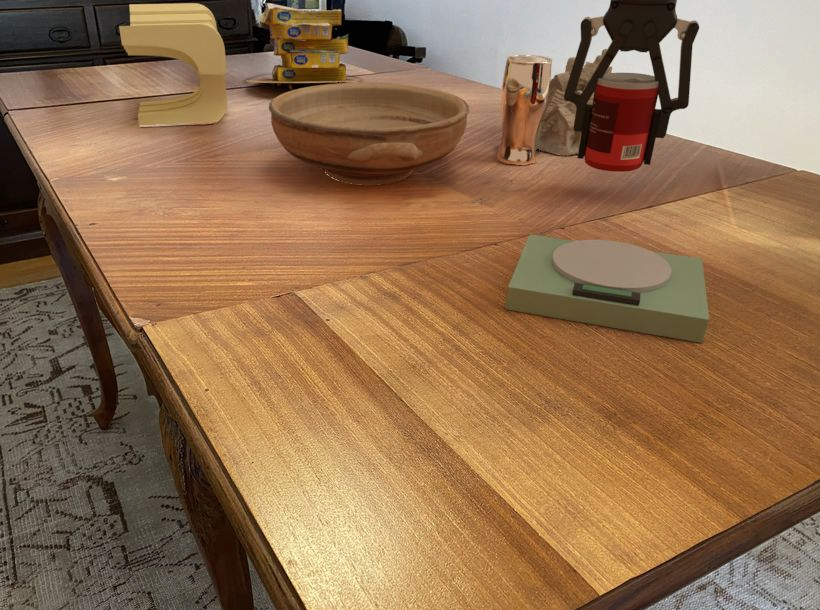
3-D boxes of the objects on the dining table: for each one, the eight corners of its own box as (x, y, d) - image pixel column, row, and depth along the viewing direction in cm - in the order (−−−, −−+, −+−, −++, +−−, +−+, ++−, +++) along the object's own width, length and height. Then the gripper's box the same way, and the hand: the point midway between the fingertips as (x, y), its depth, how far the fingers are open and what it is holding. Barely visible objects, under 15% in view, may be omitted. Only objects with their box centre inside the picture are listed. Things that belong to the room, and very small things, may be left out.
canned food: (649, 161, 96) (668, 75, 90) (633, 176, 90) (651, 86, 85) (594, 152, 100) (608, 70, 94) (574, 166, 94) (588, 79, 88)
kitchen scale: (695, 279, 75) (703, 252, 74) (702, 343, 64) (711, 312, 63) (526, 254, 81) (530, 228, 79) (504, 309, 69) (508, 280, 68)
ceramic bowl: (266, 140, 120) (262, 78, 114) (429, 134, 123) (433, 74, 118) (280, 221, 89) (276, 141, 83) (498, 210, 92) (508, 133, 87)
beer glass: (484, 159, 112) (495, 58, 104) (512, 150, 115) (524, 52, 108) (520, 169, 107) (534, 64, 99) (547, 160, 111) (563, 59, 103)
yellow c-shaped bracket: (232, 136, 122) (222, 23, 112) (137, 141, 119) (118, 26, 110) (222, 97, 147) (214, 2, 137) (143, 101, 144) (129, 4, 134)
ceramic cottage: (554, 122, 130) (566, 35, 122) (627, 146, 119) (646, 53, 110) (491, 140, 123) (500, 49, 115) (563, 168, 112) (578, 70, 104)
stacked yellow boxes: (254, 77, 165) (248, -2, 156) (360, 78, 165) (360, -2, 156) (240, 101, 144) (233, 11, 135) (361, 102, 144) (362, 12, 135)
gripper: (556, -34, 83) (532, 159, 95) (749, -31, 77) (697, 174, 89) (563, -37, 89) (539, 144, 101) (743, -35, 83) (695, 158, 95)
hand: (613, 158), depth 95 cm, fingers closed on canned food, 8 cm apart
